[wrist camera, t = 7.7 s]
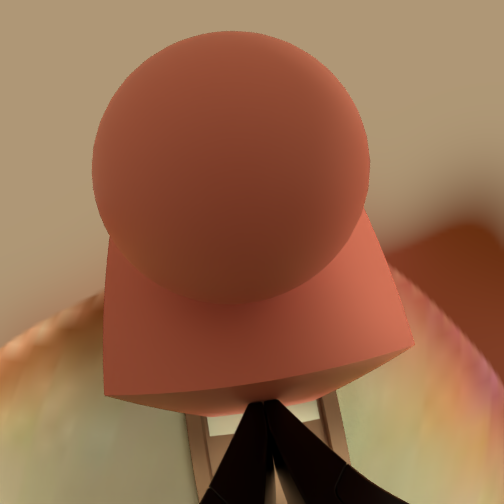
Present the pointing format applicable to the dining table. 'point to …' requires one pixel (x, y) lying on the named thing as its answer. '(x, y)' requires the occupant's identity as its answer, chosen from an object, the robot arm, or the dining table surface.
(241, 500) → the robot arm
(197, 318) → the pawn
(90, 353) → the dining table surface
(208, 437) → the track
